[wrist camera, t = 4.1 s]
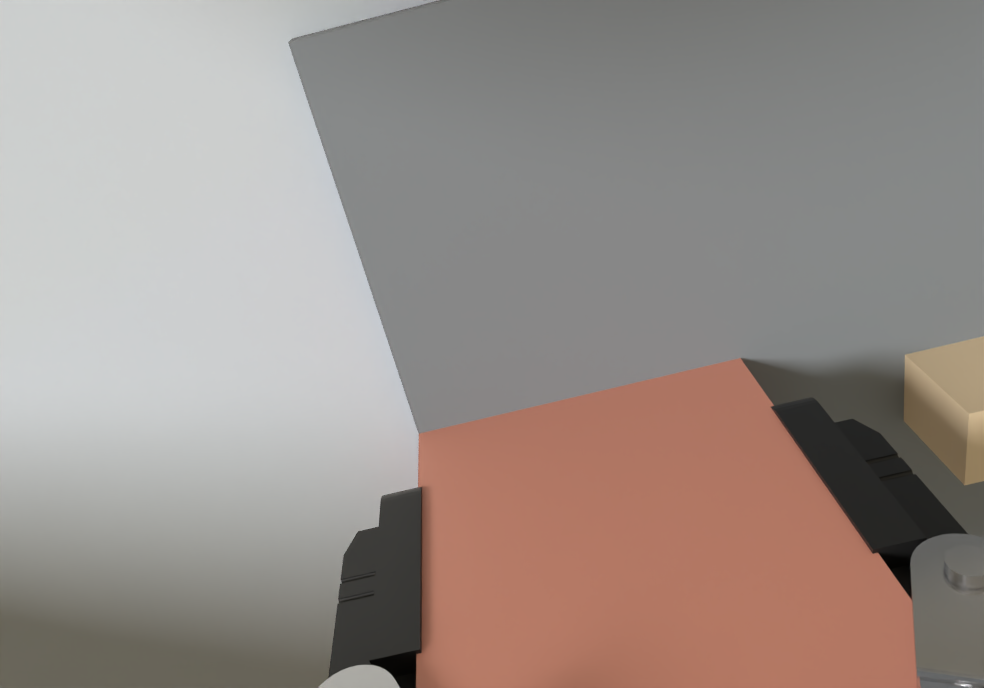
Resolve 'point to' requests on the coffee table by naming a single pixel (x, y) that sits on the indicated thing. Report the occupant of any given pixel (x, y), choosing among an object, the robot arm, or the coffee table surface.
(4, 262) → the coffee table surface
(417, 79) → the mat
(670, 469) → the box
